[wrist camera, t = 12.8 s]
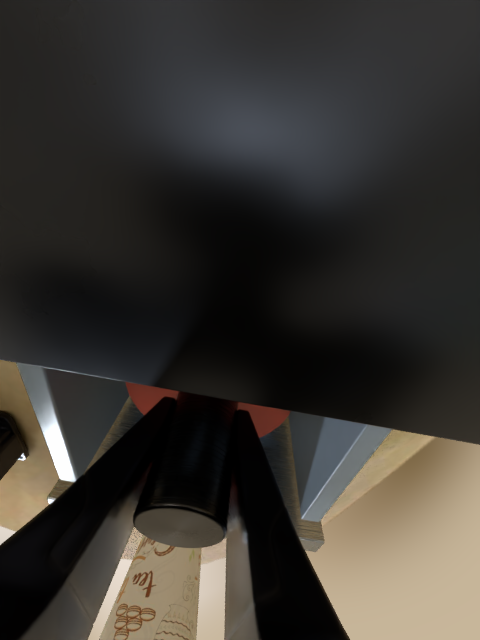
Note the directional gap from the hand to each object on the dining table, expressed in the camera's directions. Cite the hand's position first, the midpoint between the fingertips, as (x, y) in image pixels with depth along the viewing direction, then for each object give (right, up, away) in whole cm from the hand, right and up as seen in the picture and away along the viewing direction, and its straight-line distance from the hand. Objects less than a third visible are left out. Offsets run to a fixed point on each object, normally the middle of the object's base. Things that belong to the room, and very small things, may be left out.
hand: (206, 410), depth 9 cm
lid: (0, +1, +1) cm, 1 cm away
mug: (-6, -22, +21) cm, 31 cm away
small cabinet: (+2, +12, 0) cm, 13 cm away
